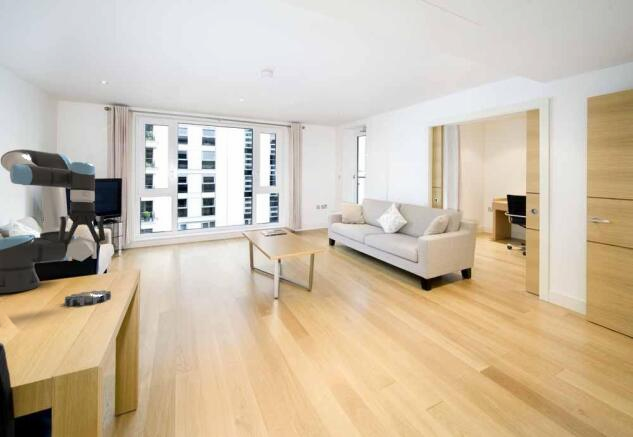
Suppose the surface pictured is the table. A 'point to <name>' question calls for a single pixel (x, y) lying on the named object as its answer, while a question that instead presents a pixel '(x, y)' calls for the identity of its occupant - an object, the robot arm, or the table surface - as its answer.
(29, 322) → the table surface
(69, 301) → the gear plate
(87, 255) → the die
